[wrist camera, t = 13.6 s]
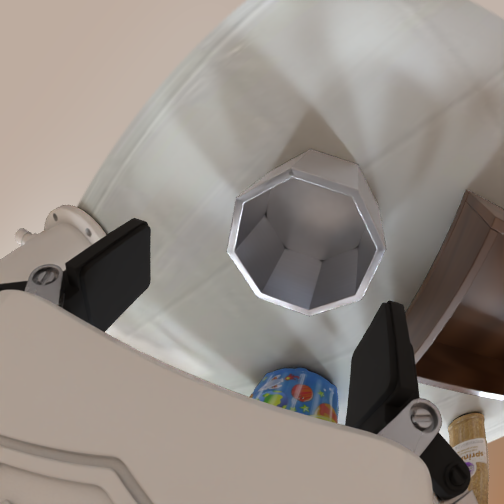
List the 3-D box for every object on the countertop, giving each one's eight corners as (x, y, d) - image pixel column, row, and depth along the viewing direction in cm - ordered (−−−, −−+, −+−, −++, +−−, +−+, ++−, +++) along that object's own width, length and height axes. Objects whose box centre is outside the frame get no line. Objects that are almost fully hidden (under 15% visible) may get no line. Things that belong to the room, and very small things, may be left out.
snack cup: (251, 416, 31) (217, 487, 23) (208, 355, 28) (156, 437, 19) (386, 412, 24) (375, 504, 15) (372, 340, 20) (359, 462, 12)
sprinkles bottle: (474, 406, 20) (478, 524, 9) (489, 417, 20) (494, 523, 9) (440, 425, 23) (434, 536, 11) (458, 435, 23) (454, 536, 11)
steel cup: (254, 239, 20) (220, 283, 15) (277, 139, 16) (243, 153, 12) (351, 273, 19) (345, 329, 14) (390, 176, 15) (404, 206, 10)
